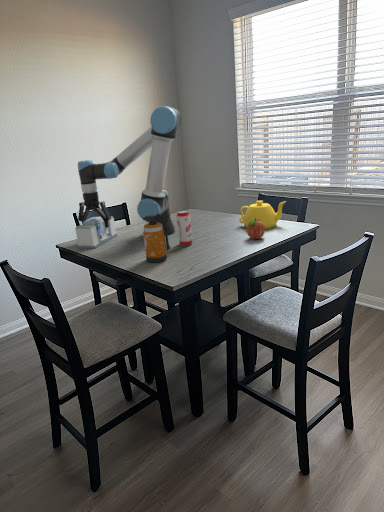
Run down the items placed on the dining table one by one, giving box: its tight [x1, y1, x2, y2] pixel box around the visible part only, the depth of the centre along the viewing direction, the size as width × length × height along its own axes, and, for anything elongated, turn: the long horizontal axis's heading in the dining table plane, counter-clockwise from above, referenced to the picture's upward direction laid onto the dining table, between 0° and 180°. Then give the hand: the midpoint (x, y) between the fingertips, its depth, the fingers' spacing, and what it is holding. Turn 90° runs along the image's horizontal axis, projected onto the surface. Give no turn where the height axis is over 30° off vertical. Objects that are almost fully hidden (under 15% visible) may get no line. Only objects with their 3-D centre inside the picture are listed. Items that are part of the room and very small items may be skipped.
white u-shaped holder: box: [74, 215, 118, 250], centre depth 204 cm, size 10×23×11 cm, turn 163°
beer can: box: [176, 210, 193, 247], centre depth 185 cm, size 6×6×16 cm
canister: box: [142, 214, 171, 263], centre depth 166 cm, size 9×11×20 cm
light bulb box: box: [83, 216, 107, 241], centre depth 204 cm, size 11×7×11 cm, turn 165°
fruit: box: [246, 218, 266, 240], centre depth 185 cm, size 9×10×10 cm
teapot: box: [238, 200, 287, 230], centre depth 205 cm, size 25×18×14 cm
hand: (97, 233), depth 205 cm, fingers open, 11 cm apart
